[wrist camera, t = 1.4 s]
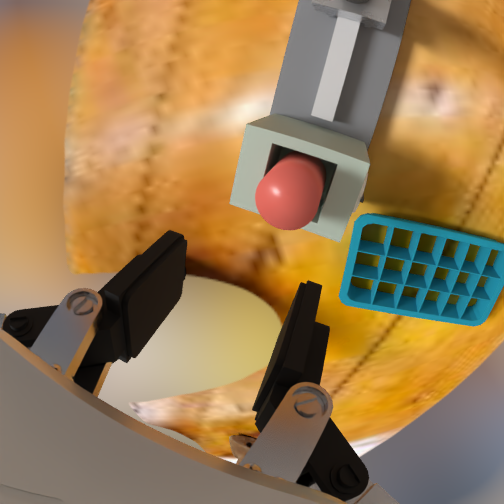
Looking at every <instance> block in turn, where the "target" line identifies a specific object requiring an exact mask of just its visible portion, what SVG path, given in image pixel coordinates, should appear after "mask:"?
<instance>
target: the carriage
mask: <svg viewBox="0 0 504 504" xmlns="http://www.w3.org/2000/svg"><path fill="white" fill-rule="evenodd" d="M311 3H312V5H313V7H314V9H315V11H319V12H323V13H327V16H330V17H333V18H334V16H339V17H342V18H346V19H349V20H353V21H356V22H359V23H362V24H364V27H367V28H371V27H374V28H377V29H380V30H383V28H384V26H385V24H386V20H387V17H388V12H389V8H390V4H391V0H312V2H311Z"/></svg>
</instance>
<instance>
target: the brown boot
mask: <svg viewBox="0 0 504 504" xmlns="http://www.w3.org/2000/svg"><path fill="white" fill-rule="evenodd" d="M229 440H230V446H231V450H232V453H233V455H234V456H235V457H236V458H238V461H237V463H236V464H237V465H239V463H240V462H241V461H242V459H243V458H244V456H245V455H246V454H247V452H248V451H249V449H250V448H251V447H252V445H253V444H254V442H255V441H256V439H254V438H251V437H246V436H235V435H233V436H230V437H229Z"/></svg>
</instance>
